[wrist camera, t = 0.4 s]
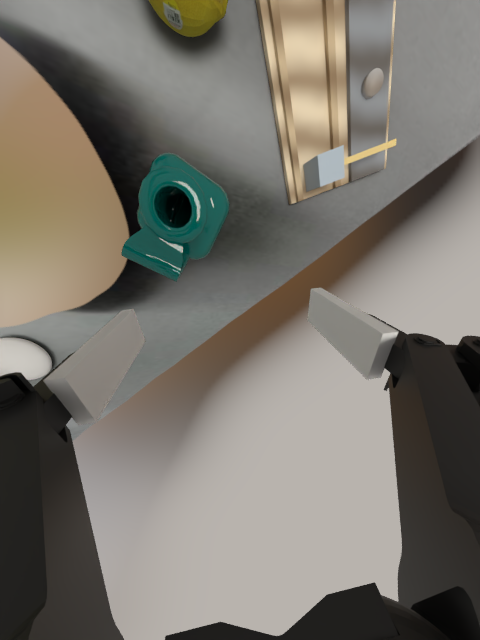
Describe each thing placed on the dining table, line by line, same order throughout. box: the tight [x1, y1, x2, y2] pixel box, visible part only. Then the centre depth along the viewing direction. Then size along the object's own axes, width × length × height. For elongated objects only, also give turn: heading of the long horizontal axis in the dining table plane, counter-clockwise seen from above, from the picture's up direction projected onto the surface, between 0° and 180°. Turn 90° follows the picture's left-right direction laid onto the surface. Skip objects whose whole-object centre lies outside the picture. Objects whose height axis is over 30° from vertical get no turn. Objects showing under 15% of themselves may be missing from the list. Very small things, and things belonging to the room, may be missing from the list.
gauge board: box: [256, 0, 396, 205], centre depth 25 cm, size 28×18×6 cm, turn 18°
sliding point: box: [303, 139, 396, 192], centre depth 29 cm, size 4×12×5 cm, turn 108°
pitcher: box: [122, 152, 230, 282], centre depth 24 cm, size 10×8×22 cm
